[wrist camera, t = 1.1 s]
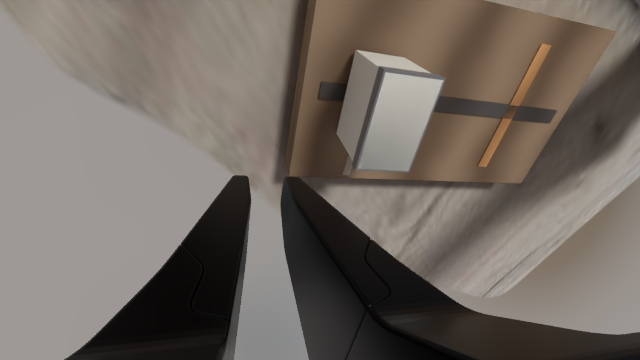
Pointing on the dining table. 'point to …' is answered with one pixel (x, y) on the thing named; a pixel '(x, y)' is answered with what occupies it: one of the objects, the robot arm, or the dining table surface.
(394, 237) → the dining table surface
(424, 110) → the fader tab
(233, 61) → the dining table surface
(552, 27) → the fader console
